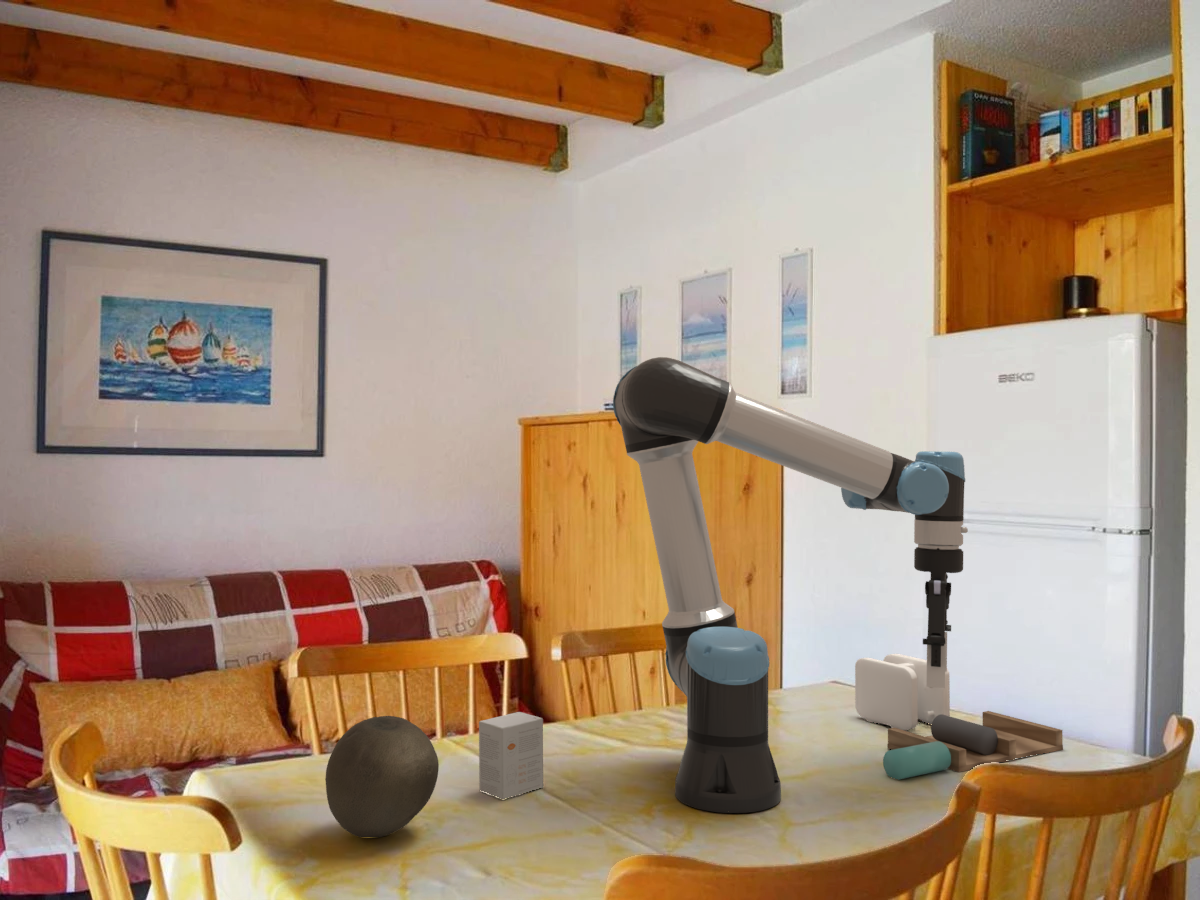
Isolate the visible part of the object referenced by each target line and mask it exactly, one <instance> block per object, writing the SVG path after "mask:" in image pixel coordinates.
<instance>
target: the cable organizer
mask: <svg viewBox="0 0 1200 900" xmlns="http://www.w3.org/2000/svg"><path fill="white" fill-rule="evenodd" d="M854 678H855V680H854V681H855V682H854V683H855V685H854V686H855V687H854V690H855V691H854V692H855V694H854V695H855V696H854V697H855V698H854V700H855V702H854V703H855V710H856V712H857V714H858V715H859V716H860V717H861V718H863V719H865V721H866V720H867V722H869V721H870V722H869V723H872V722H874V723H873V724H876V723H878V725H880V724H883V725H887V726H890V728H898V729H901V730H904V731H908V730H913V729H915V728H916V727H917V725H918V720H920V721H921V722H922V723H924V722H926V723H925V724H927V723H929V724H928V725H930V724H932V722H933V720H934V718H935V717H936V716H938V715H940V714H942V715H946V716H950V717H951V715H950V711H951V709H950V708H951V706H950V704H951V703H950V699H951V698H950V693H951V692H950V691H951V690H950V687H951V686H950V682H951V681H950V671H949V669H948V668H947V672H945V688H937V687H926V681H927V659H923V658H918V657H914V656H910V655H905V654H901V653H900V654H899V653H892V654H887V655H885V657H884V658H883V660H880V659H876V658H871V657H861V658H859V659H857V660H856V662H855V665H854Z"/></svg>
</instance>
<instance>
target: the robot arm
mask: <svg viewBox="0 0 1200 900" xmlns="http://www.w3.org/2000/svg"><path fill="white" fill-rule="evenodd" d="M613 393H614V394H613V397H612V407H613V413H614V416H615V419H616V421H617V422H618V424H619V425H620V427H621V432H622V437H623V442H624V446H625V452H626V455H627V456H628V457H630V458H631V460H632V459H633V460H634V461H636V463H637V465H638V466H639V471H640V477H641V481H642V485H643V491H644V495H645V501H646V505H647V509H648V516H649V520H650V525H651V530H652V534H653V539H654V540H653V541H654V545H655V549H656V554H657V558H658V564H659V567H660V568H659V569H660V574H661V578H662V583H663V588H664V593H665V597H666V603H667V607H668V612H667V614H666V615H665V617H664V618H663V620H662V622H661V624H662V625H661V626H662V630H663V636H664V640H665V641H664V642H665V645H666V648H665V666H666V670H667V672H668V675H669V677H670V678H671V681H672V682H673V683H674V685H675V686H677V688H678V689H679V690H680V691H681V692H682V693H683V694H684V695H685V696H686V700H687V701H686V702H687V703H686V705H687V706H686V707H687V708H686V714H687V715H686V716H687V717H686V721H687V723H686V728H687V729H686V731H687V733H686V734H687V735H686V744H685V748H684V751H683V754H682V758H681V761H680V764H679V769H678V771H677V773H676V776H675V782H674V783H675V784H674V785H675V786H674V789H675V790H674V791H675V792H674V794H675V797H676V799H678V801H679V802H681V803H682V804H684V805H687V806H688V807H692V808H694V809H698V810H702V811H706V812H707V811H708V812H712V813H713V812H715V813H721V814H722V813H723V814H745V813H754V812H759V811H765V810H768V809H771V808H773V807H775V806H777V805H778V804H779V803H780V801H781V799H782V786H781V780H780V777H779V774H778V771H777V767H776V764H775V761H774V757H773V755H772V751H771V748H770V745H769V668H770V657H769V653H768V650H769V649H768V645H767V642H766V641H765V639H764V638H763V637H762V636H761V635H760V634H758V633H756V632H755V631H751V630H746V629H744V628H740V627H738V622H737V617H736V613H735V609H734V608H733V607H732V606H730V605H729V604H728V603H726V602H725V601H724V600H723V598H722V592H721V588H720V583H719V577H718V573H717V568H716V563H715V558H714V554H713V550H712V543H711V540H710V535H709V530H708V525H707V524H708V523H707V519H706V515H705V510H704V505H703V504H704V503H703V500H702V496H701V491H700V486H699V481H698V476H697V471H696V466H695V461H694V457H693V456H694V455H693V452H694V449H695V448H696V447H697V444H699V442H700V443H702V444H704V445H708V444H711V443H713V442H719V443H721V444H725V445H727V446H730V447H732V448H735V449H737V450H740V451H742V452H746V453H747V454H751V455H753V456H756V457H759V458H761V459H764V460H767V461H769V462H771V463H775V464H777V465H780V466H783V467H785V468H788V469H790V470H792V471H796V472H799V473H801V474H804V475H807V476H808V477H812V478H814V479H816V480H817V479H818V480H820V481H823V482H825V483H828V484H831V485H832V486H833V485H834V486H836V487H839V488H840V490H841V497H842V500H843V502H844V504H845V506H846V507H848V508H849V509H856V510H859V509H861V510H863V511H866V510H883V511H891V512H901V513H908V514H911V515H914V521H913V522H914V527H913V529H914V532H913V534H914V535H913V536H914V538H913V540H914V541H913V542H914V543H915V544H916V545H917V547H915V548H914V551H913V552H914V554H913V555H914V556H913V557H914V559H913V562H914V565H913V566H914V569H915V570H916V571H919V572H927V573H930V579H929V580H927V581H925V582H924V593H925V595H926V597H925V607H926V608H927V611H928V614H927V616H928V617H927V636H926V638H922V645H925V646H926V660H927V681H926V687H937V688H945V672H947V669H948V665H947V664H948V632H952V624H948V623H949V622H948V619H947V618H948V616H947V615H948V610H949V608H950V601H951V600H950V597H951V595H952V582H948V578H949V575H948V574H958V573H961V572H963V570H964V550H963V549H962V548H960V547H961V546H962V545H964V534H966V533H968V527H967V526H964V513H965V512H964V509H965V505H964V504H965V483H966V476H965V475H966V473H965V472H966V471H965V462H964V461H965V460H964V457H963V455H962V454H961V453H959V452H957V451H934V450H933V451H930V450H929V451H919V452H916V455H915V460H911V459H909V458H906V457H904V456H902V455H899V454H896V453H892V452H891V451H889V450H886V449H883V448H880V447H878V446H876V445H873V444H870V443H867V442H865V441H863V440H860V439H857V438H856V437H852V436H849V435H847V434H845V433H842V432H839V431H837V430H834V429H832V428H828V427H826V426H825V425H821V424H819V423H817V422H816V423H815V422H813V421H810V420H809V419H805V418H802V417H800V416H798V415H794V414H792V413H789V412H787V411H785V410H782V409H780V408H776V407H775V406H772V405H769V404H766V403H764V402H761V401H759V400H757V399H753V398H751V397H749V396H747V395H746V396H745V395H743V394H740V393H737V392H736V391H735V390H734V388H733V385H732V383H731V382H729V381H727V380H724V379H721V378H719V377H716V376H714V375H712V374H709V373H707V372H705V371H703V370H701V369H698V368H697V367H694V366H692V365H690V364H687V363H686V362H683V361H681V360H680V359H679V360H678V359H676V358H672V357H663V356H660V357H653V358H649V359H647V360H644V361H642V362H641V363H639V364H638V365H636V366H635V365H634V367H632V368H631V369H629V370H628V371H627V372H626V373H624V375H622V376H621V377H620V379H619V381H618V383H617V384H616V387H615V390H614V392H613Z"/></svg>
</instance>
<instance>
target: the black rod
mask: <svg viewBox="0 0 1200 900" xmlns="http://www.w3.org/2000/svg"><path fill="white" fill-rule="evenodd" d="M930 731H931V736H933V737H934V739H936V740H938V741H941V742H945V743H948V744H951V745H954V746H958V747H961V748H964V749H968V750H971V751H974V752H977V753H981V754H984V755H990V754H992V753H993V752H994V751H995V749H996V747H997V744H998V736H997V733H996V731H995V730H994V729H993V728H990V727H986V726H983V724H982V725H981V724H978V723H974V722H971V721H967V720H963V719H962V718H960V719H959V718H956V717H952V716H951V715H950V716H946V715H942V714H940V715H938V716H936V717H935V718H934V720H933V722H932V725H930Z"/></svg>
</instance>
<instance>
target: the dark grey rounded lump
mask: <svg viewBox="0 0 1200 900" xmlns="http://www.w3.org/2000/svg"><path fill="white" fill-rule="evenodd" d="M327 761H328V762H327V764H326V765H327V766H326V770H325V778H324V779H325V789H326V790H325V791H326V799H327V803H328V807H329V810H330V813H331V814H332V816H333V818H334V819H335V820H336V822H337V823H338V825H340V827H342V829H344V830H345V831H346V832H348V833H350V834H351V835H353V836H355V837H357V836H358V838H361V837H378V838H383V837H387V836H389V835H391V834H393V833H396V832H398V831H400V830H401V829H403V828H404V827H406V826H407V825H408V824H409V823H410V822H411V821H413V819H414V818H415V817H416V816H417V815H418V814H419V813H420V812H421V811H422V810H423V809H424V807H425V806H426V805H427V804H428V802H429V800H430V799H431V797H432V795H433V793H434V790H435V788H436V786H437V785H436V784H437V780H438V775H439V769H440V767H439V765H440V764H439V763H440V762H439V757H438V755H437V752H436V750H435V747H434V745H433V743H432V741H431V740H430V738H429V736H428V735H427V734H426V732H424V731H423V730H422V729H421V728H420V727H419V726H417V725H416V724H415V723H412V722H411V721H410V720H408V719H407V718H403V717H399V716H398V717H397V716H395V715H393V716H392V715H382V716H373V717H369V718H367V719H363V720H361V721H360V722H358V723H355V724H354V725H352V726H351V727H350V728H349V729H348V730H346V731H345V733H343V734H342V735H341V737H340V738H339V740H338V741H337V743H336V744H335V746H334V747H333V749H332V752H331V754H330V756H329V758H328V760H327Z"/></svg>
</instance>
